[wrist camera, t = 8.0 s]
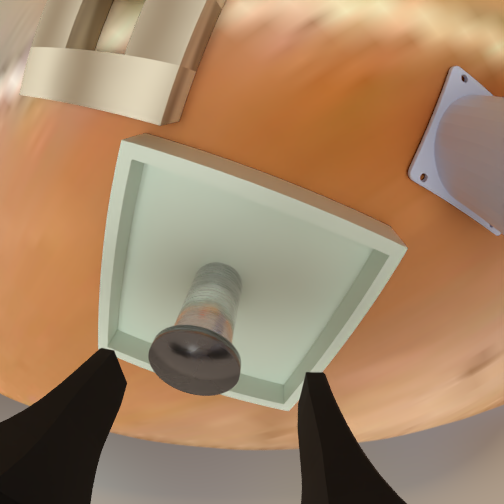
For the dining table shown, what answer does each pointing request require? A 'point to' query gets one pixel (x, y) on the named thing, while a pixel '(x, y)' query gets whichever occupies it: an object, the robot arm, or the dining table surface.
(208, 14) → the pin block
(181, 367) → the steel pin
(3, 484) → the robot arm
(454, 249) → the dining table surface
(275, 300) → the tray
